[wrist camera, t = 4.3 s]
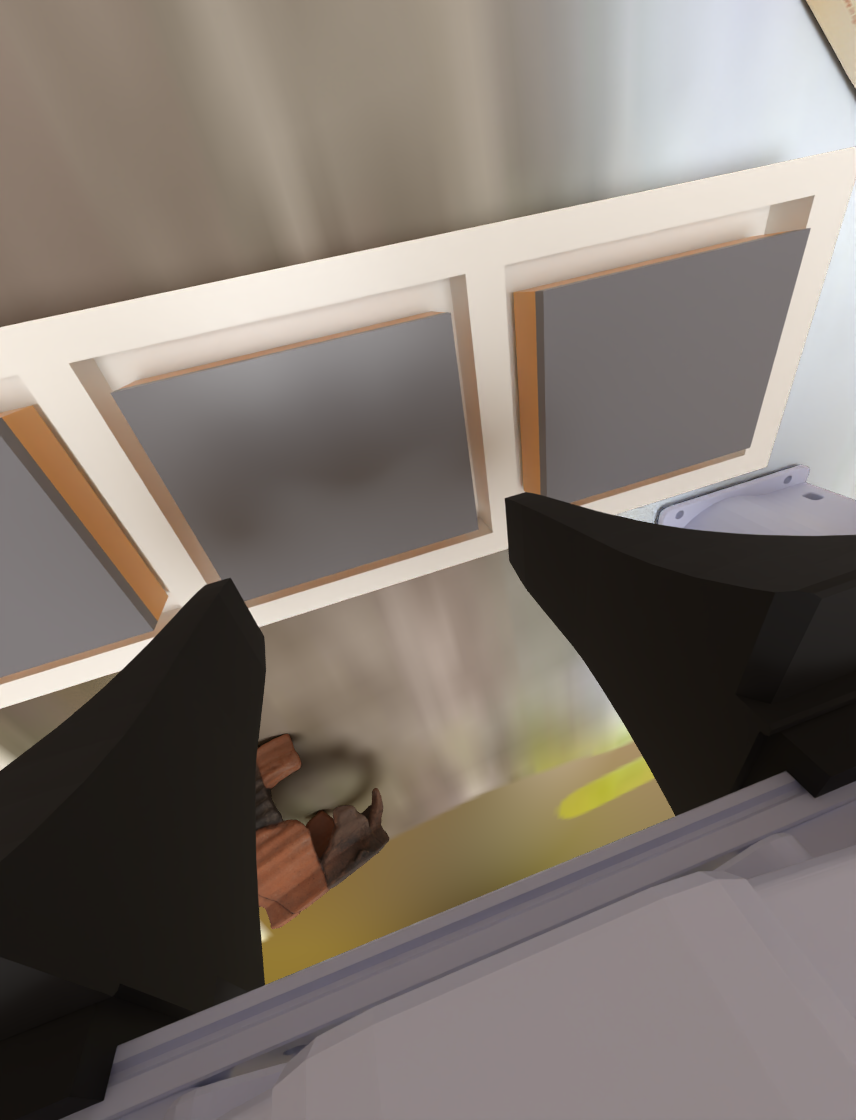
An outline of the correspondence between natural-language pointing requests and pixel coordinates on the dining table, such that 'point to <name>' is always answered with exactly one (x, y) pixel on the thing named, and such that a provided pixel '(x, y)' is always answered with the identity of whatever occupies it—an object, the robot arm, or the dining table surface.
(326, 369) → the middle button
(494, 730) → the dining table surface
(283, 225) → the dining table surface
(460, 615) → the dining table surface
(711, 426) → the right button
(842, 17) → the coffeecake box
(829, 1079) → the robot arm
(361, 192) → the dining table surface
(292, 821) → the brown grey irregular piece
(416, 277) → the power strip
